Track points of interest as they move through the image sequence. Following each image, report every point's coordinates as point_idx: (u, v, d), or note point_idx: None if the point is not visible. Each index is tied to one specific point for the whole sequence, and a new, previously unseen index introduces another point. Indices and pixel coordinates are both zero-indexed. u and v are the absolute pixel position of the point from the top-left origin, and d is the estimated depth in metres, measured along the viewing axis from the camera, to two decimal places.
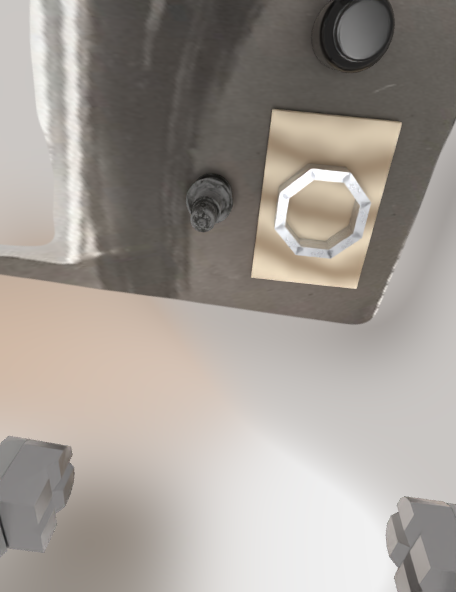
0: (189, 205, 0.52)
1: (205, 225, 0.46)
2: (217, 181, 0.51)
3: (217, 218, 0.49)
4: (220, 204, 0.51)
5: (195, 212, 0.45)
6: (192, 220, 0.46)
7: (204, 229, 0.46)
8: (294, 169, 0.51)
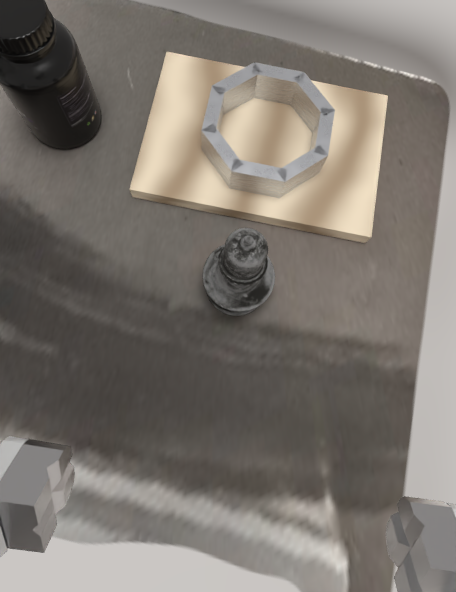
0: (241, 306, 0.33)
1: (253, 238, 0.26)
2: (208, 259, 0.34)
3: None
4: None
5: (231, 255, 0.27)
6: (244, 261, 0.26)
7: (261, 243, 0.27)
8: (208, 167, 0.38)
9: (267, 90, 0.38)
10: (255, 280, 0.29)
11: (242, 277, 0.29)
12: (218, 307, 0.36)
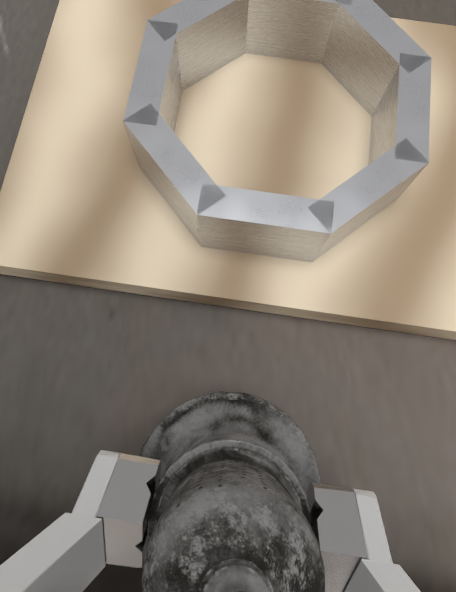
0: None
1: (261, 571, 0.06)
2: (147, 447, 0.13)
3: (266, 460, 0.09)
4: None
5: None
6: None
7: (298, 579, 0.06)
8: (153, 203, 0.17)
9: (272, 32, 0.18)
10: None
11: None
12: None
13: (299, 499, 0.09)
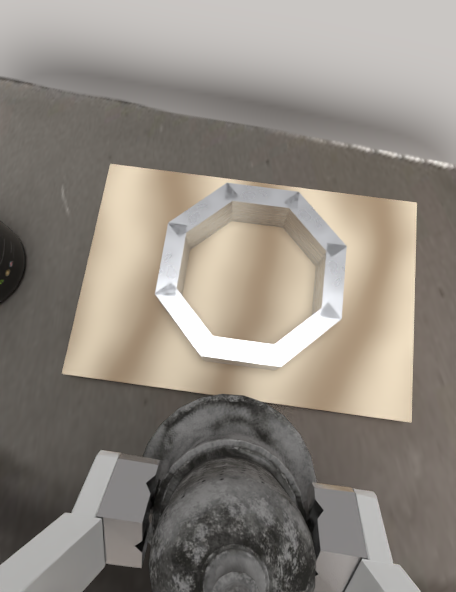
0: None
1: (258, 555, 0.06)
2: (151, 445, 0.14)
3: (264, 458, 0.10)
4: None
5: None
6: None
7: (291, 564, 0.06)
8: (172, 331, 0.27)
9: (249, 214, 0.28)
10: None
11: None
12: None
13: (294, 495, 0.10)
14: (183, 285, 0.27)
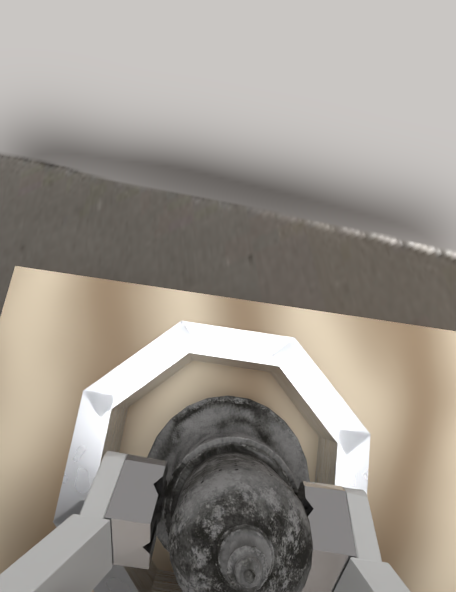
0: None
1: (266, 535, 0.07)
2: (159, 438, 0.15)
3: (268, 456, 0.11)
4: None
5: (184, 586, 0.08)
6: None
7: (293, 546, 0.08)
8: None
9: (217, 361, 0.18)
10: None
11: None
12: None
13: (293, 492, 0.11)
14: None
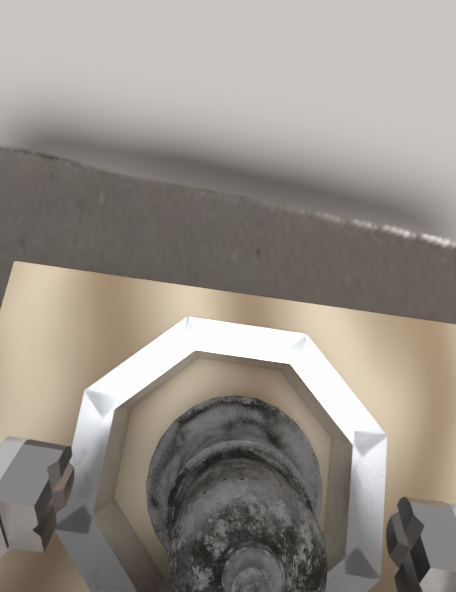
0: None
1: (275, 554, 0.07)
2: (163, 440, 0.14)
3: (277, 461, 0.10)
4: None
5: None
6: None
7: (305, 565, 0.07)
8: None
9: (225, 359, 0.17)
10: None
11: None
12: None
13: (304, 500, 0.10)
14: (117, 473, 0.17)
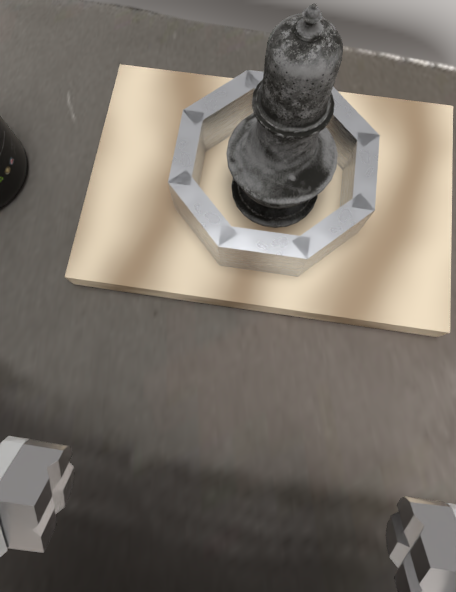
0: (285, 196, 0.21)
1: (319, 21, 0.15)
2: (236, 129, 0.22)
3: None
4: None
5: (277, 53, 0.15)
6: (301, 62, 0.15)
7: (333, 32, 0.15)
8: (185, 234, 0.25)
9: None
10: (313, 130, 0.18)
11: (292, 119, 0.17)
12: (248, 214, 0.25)
13: None
14: None
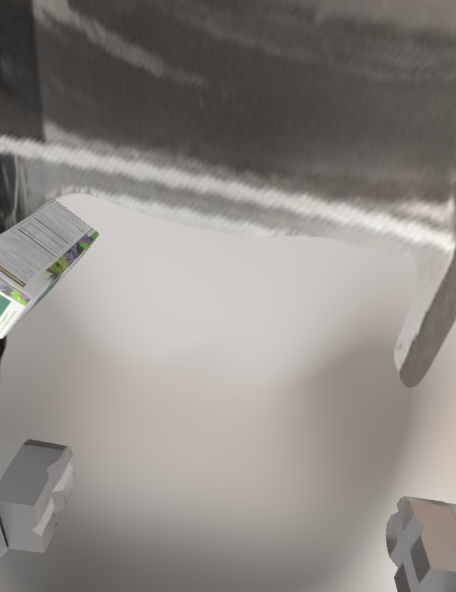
0: None
1: None
2: None
3: None
4: None
5: None
6: None
7: None
8: None
9: None
10: None
11: None
12: None
13: None
14: None
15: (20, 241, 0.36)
